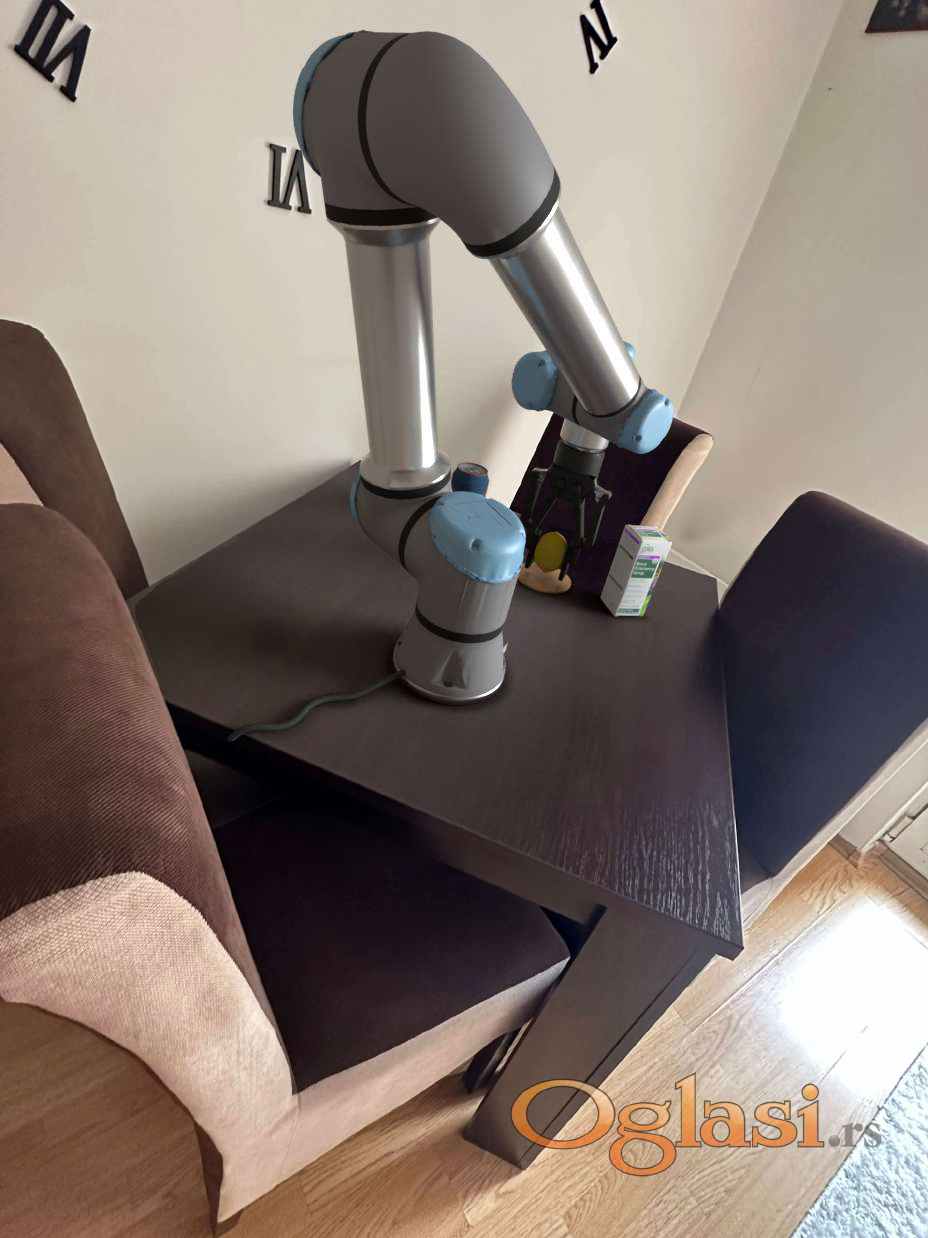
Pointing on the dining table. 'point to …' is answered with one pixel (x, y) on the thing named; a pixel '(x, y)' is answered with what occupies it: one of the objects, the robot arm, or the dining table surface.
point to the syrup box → (635, 570)
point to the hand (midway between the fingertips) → (545, 571)
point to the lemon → (550, 552)
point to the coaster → (543, 580)
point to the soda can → (470, 478)
